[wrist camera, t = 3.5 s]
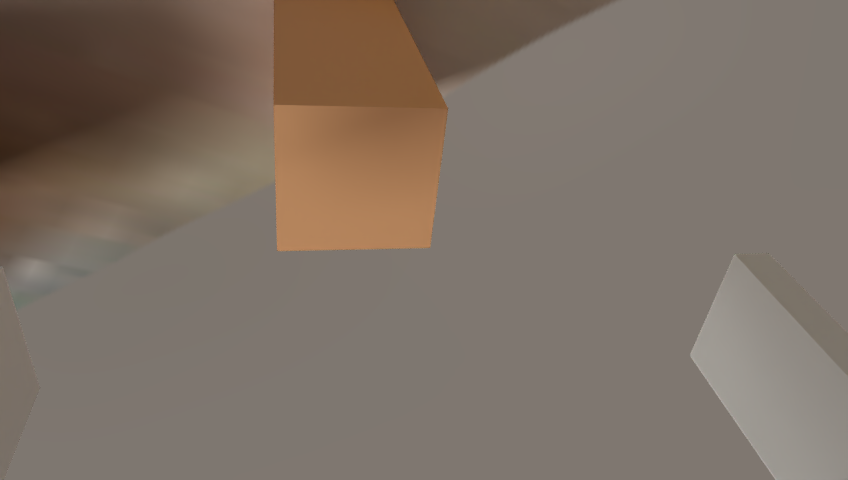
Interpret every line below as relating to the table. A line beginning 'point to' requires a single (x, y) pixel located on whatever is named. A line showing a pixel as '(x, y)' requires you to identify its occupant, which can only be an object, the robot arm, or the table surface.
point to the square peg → (353, 128)
